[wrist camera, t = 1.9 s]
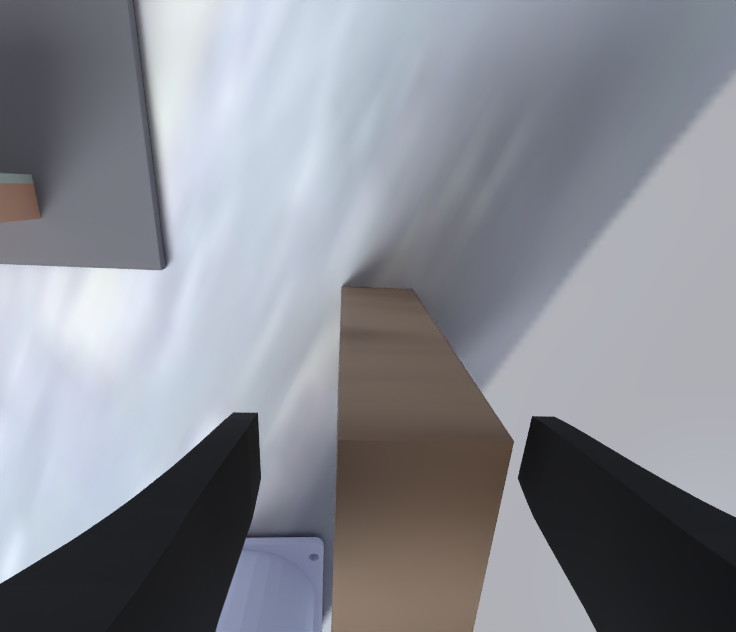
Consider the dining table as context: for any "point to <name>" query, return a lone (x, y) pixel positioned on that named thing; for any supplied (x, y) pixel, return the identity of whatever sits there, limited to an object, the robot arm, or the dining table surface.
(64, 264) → the mat
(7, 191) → the tile
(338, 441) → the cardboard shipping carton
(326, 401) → the dining table surface
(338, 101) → the dining table surface
